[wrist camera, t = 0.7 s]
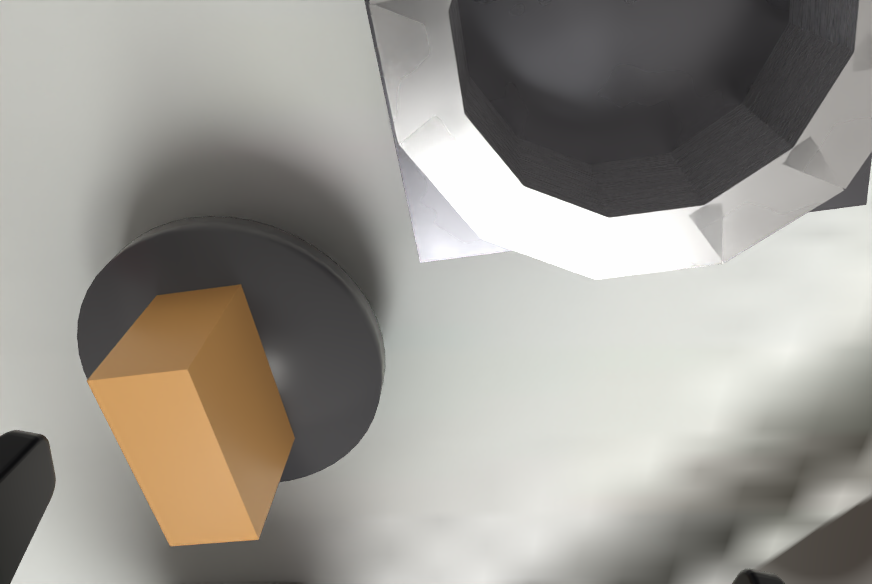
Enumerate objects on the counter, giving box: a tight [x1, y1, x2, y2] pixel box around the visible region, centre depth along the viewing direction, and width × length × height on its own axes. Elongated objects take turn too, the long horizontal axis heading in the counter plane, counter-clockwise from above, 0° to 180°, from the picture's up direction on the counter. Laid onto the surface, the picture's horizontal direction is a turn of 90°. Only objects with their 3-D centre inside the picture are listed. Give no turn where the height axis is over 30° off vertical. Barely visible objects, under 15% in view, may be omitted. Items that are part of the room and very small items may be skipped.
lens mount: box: [365, 0, 872, 279], centre depth 16 cm, size 12×12×5 cm
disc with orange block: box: [77, 216, 385, 546], centre depth 21 cm, size 9×9×7 cm
